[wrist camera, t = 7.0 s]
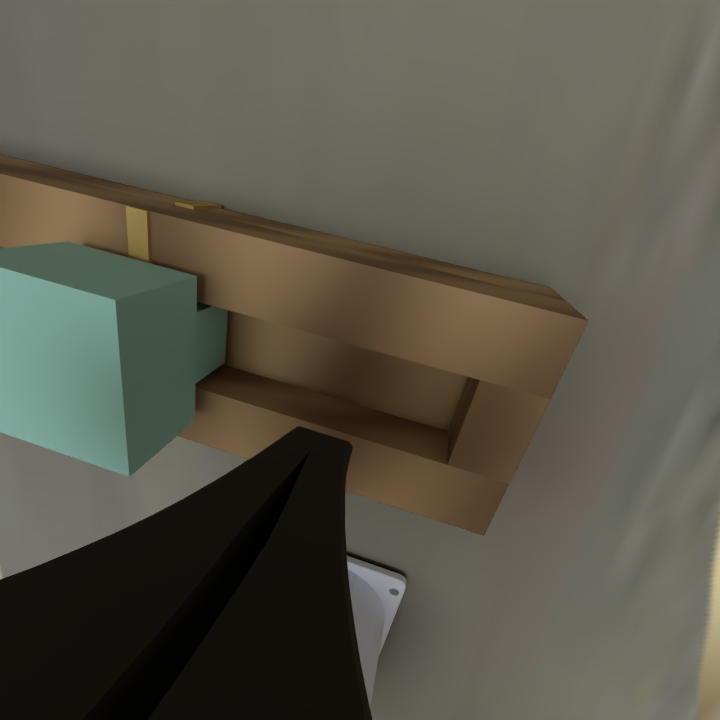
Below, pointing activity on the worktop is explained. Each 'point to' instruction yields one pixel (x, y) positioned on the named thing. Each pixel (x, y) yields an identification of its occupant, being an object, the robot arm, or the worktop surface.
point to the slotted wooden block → (334, 339)
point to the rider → (101, 352)
